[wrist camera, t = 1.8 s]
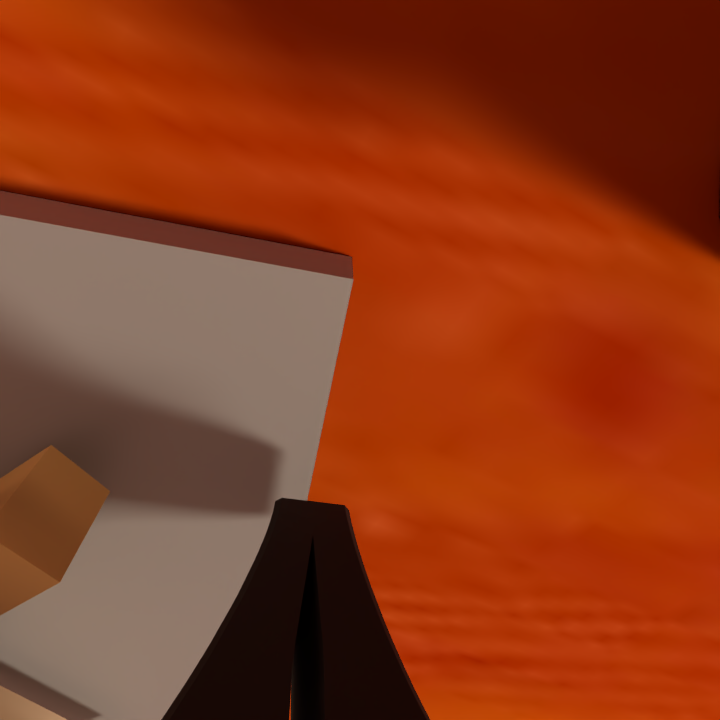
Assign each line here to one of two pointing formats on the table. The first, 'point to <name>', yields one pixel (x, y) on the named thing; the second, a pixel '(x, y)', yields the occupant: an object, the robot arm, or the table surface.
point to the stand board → (154, 432)
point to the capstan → (41, 540)
